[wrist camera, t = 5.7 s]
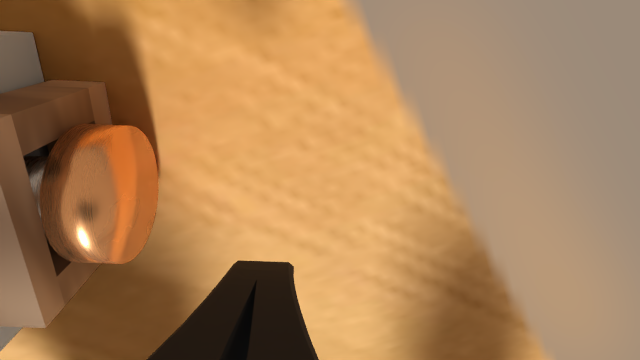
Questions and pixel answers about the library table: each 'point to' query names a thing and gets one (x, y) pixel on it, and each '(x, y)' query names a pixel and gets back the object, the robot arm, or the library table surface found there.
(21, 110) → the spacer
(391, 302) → the library table surface
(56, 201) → the shaft
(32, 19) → the library table surface
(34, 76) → the bearing block
